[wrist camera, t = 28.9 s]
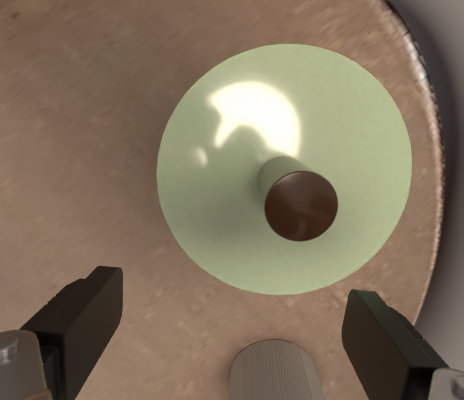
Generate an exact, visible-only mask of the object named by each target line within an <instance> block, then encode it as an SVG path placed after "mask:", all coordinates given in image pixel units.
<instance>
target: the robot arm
mask: <svg viewBox="0 0 464 400" xmlns="http://www.w3.org/2000/svg"><path fill="white" fill-rule="evenodd" d="M122 309H123V271H122V269H121V268H118V267H107V266H98V267H97V268H96V269H95V270H94V271H93V272H92V273H91V274H90V275H89V276H88V277H87V278H86V279H78V280H76V281H74V282H72V283H70V284H68V285H66V286H65V287H64V288H63V289H62V290H61V291H60V292H59V293H58V294H56V297H53V298H52V299H51V300H50V301H49V302H48V304H47V305H45V306H44V307H43V308H41V309H40V310H39V311H38V312H37V313H36V314H35V315H34V316H33V317H32V318H31V319H30V320H29V321H28V322H27V323H25V324H24V325H23V326H22V327H21V328H20V329H19V330H11V331H5V332H1V333H0V400H75V398H76V397H77V395H78V393H79V392H80V390H81V388H82V387H83V385H84V383H85V381H86V380H87V378H88V376H89V375H90V373H91V371H92V370H93V368H94V366H95V365H96V363H97V361H98V360H99V358H100V356H101V354H102V353H103V351H104V349H105V348H106V346H107V344H108V343H109V341H110V339H111V338H112V336H113V334H114V332H115V331H116V329H117V327H118V325H119V323H120V320H121V316H122ZM342 343H343V346H344V349H345V351H346V353H347V355H348V357H349V359H350V361H351V363H352V365H353V367H354V370H355V372H356V374H357V376H358V378H359V380H360V382H361V384H362V386H363V388H364V390H365V392H366V394H367V396H368V398H369V400H464V372H463V371H460V370H457V369H452V368H450V367H449V366H448V365H447V364H446V363H445V362H444V360H442V358H441V357H440V356H439V355H438V354H437V353H436V351H435V350H434V349H433V348H432V347H431V346H430V345H429V343H428V342H427V341H426V340H425V339H423V337H422V336H421V334H420V333H419V332H418V331H417V330H415V328H414V326H413V325H412V324H411V323H410V322H409V321H408V320H407V318H406V317H404V316H403V315H402V314H400V313H399V312H397V311H396V310H394V309H393V308H391V307H388V306H387V305H386V303H385V302H384V301H383V300H382V299H381V298H380V296H379V295H378V294H377V293H376V292H375V291H366V290H355V289H353V290H351V291H350V293H349V296H348V301H347V306H346V311H345V316H344V321H343V326H342Z"/></svg>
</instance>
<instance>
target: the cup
mask: <svg viewBox="0 0 464 400" xmlns="http://www.w3.org/2000/svg"><path fill="white" fill-rule="evenodd" d="M229 400H325V397H324V394H323V390H322V387H321V384H320V381H319V378H318V375H317V371H316V368H315V365H314V363H313V361H312V359H311V357H310V356H309V355H308V354H307V352H305V350H303V349H302V348H300V347H299V346H297V345H296V344H293V343H291V342H287V341H284V340H264V341H260V342H257V343H254V344H252V345H250V346H249V347H246V349H244V350H242V351H241V352H240V354H239V355H238V356H237V357H236V358H235V360H234V362H233V364H232V367H231V371H230V394H229Z"/></svg>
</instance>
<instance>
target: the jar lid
mask: <svg viewBox="0 0 464 400" xmlns="http://www.w3.org/2000/svg"><path fill="white" fill-rule="evenodd" d="M156 173H157V189H158V195H159V200H160V205H161V208H162V211H163V214H164V217H165V220H166V222H167V224H168V226H169V228H170V231H171V233H172V234H173V236H174V237H175V239H176V240H177V242H178V244H179V245H180V246H181V248H182V249H183V250H184V251H185V252H186V254H187V255H188V256H189V257H190V258H191V259H192V260H193V261H194V262H195V263H196V264H197V265H198V266H200V267H201V268H202V269H203V270H205V271H206V272H208V273H209V274H210V275H212V276H213V277H215V278H217V279H219V280H221V281H222V282H224V283H226V284H229V285H231V286H234V287H236V288H239V289H242V290H246V291H250V292H254V293H260V294H267V295H291V294H300V293H305V292H310V291H314V290H317V289H320V288H323V287H326V286H329V285H331V284H333V283H335V282H337V281H340V280H342V279H344V278H345V277H347V276H348V275H350V274H352V273H353V272H355V271H356V270H358V269H359V268H360V267H361V266H363V265H364V264H365V263H366V262H368V261H369V260H370V259H371V258H372V257H373V256H374V255H375V254H376V253H377V252H378V251H379V250H380V248H381V247H382V246H383V245H384V243H385V242H386V241H387V239H388V238H389V237H390V235H391V233H392V232H393V230H394V228H395V227H396V225H397V223H398V221H399V219H400V217H401V214H402V212H403V210H404V207H405V204H406V201H407V197H408V194H409V189H410V183H411V176H412V155H411V146H410V140H409V137H408V133H407V129H406V125H405V123H404V121H403V118H402V116H401V113H400V111H399V109H398V107H397V106H396V104H395V102H394V101H393V99H392V97H391V96H390V94H389V93H388V92H387V91H386V89H385V88H384V87H383V86H382V84H381V83H380V82H379V81H378V80H377V79H376V78H375V77H374V76H372V75H371V74H370V73H369V72H368V71H367V70H366V69H364V68H363V67H361V66H360V65H358V64H357V63H355V62H354V61H352V60H351V59H349V58H347V57H344V56H342V55H340V54H338V53H336V52H333V51H330V50H327V49H324V48H320V47H317V46H310V45H304V44H275V45H267V46H261V47H258V48H254V49H251V50H247V51H244V52H242V53H239V54H237V55H235V56H232V57H230V58H228V59H226V60H225V61H223V62H221V63H220V64H218V65H216V66H215V67H213V68H212V69H210V70H209V71H208V72H207V73H206V74H204V75H203V76H202V77H201V78H199V79H198V80H197V81H196V82H195V83H194V84H193V86H192V87H191V88H190V89H189V90H188V91H187V92H186V93H185V95H184V96H183V97H182V99H181V100H180V102H179V103H178V104H177V106H176V107H175V109H174V111H173V113H172V115H171V117H170V119H169V121H168V122H167V125H166V128H165V131H164V133H163V136H162V139H161V143H160V148H159V152H158V159H157V171H156Z"/></svg>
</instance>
